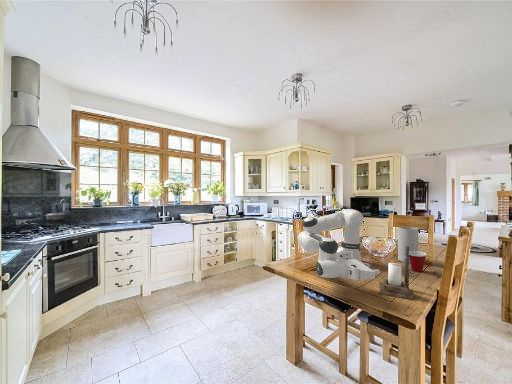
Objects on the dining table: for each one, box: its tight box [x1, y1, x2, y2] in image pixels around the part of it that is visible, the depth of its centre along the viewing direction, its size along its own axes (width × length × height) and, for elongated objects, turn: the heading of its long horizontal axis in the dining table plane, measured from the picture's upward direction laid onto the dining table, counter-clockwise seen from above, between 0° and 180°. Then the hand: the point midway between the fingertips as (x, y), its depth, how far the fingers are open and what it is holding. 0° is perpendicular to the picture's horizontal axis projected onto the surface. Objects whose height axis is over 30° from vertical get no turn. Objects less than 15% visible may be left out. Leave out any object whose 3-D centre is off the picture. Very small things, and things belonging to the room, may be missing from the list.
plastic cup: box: [409, 250, 428, 273], centre depth 151 cm, size 11×11×12 cm
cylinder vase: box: [397, 226, 419, 264], centre depth 172 cm, size 12×12×25 cm
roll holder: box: [378, 246, 414, 301], centre depth 121 cm, size 14×14×23 cm
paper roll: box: [387, 262, 403, 287], centre depth 121 cm, size 6×6×13 cm
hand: (373, 268), depth 120 cm, fingers open, 8 cm apart
